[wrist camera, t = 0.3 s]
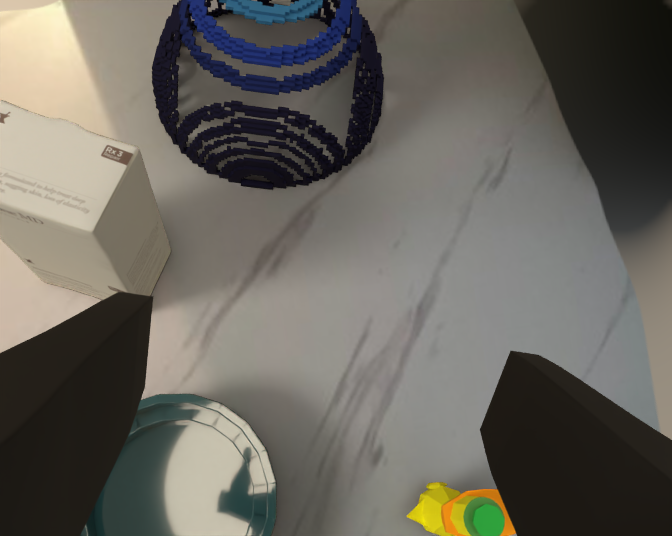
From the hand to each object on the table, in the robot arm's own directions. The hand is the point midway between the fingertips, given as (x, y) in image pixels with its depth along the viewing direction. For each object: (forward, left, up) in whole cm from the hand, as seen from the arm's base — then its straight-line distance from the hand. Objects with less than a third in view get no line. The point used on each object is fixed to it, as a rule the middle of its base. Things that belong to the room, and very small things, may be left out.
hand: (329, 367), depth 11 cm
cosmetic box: (+14, +13, -30) cm, 36 cm away
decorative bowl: (+31, +1, -30) cm, 43 cm away
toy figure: (-4, -11, -30) cm, 32 cm away
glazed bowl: (-3, +7, -30) cm, 31 cm away
